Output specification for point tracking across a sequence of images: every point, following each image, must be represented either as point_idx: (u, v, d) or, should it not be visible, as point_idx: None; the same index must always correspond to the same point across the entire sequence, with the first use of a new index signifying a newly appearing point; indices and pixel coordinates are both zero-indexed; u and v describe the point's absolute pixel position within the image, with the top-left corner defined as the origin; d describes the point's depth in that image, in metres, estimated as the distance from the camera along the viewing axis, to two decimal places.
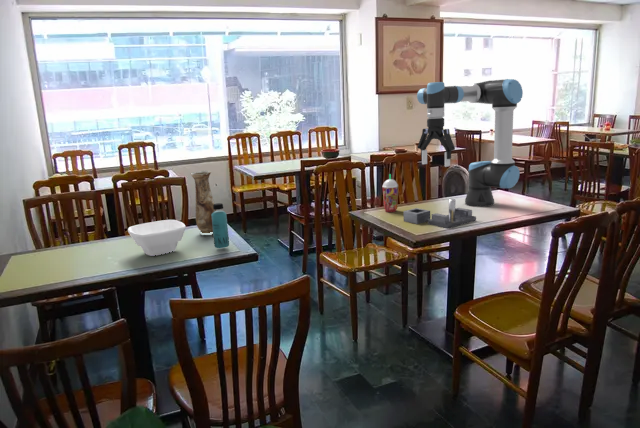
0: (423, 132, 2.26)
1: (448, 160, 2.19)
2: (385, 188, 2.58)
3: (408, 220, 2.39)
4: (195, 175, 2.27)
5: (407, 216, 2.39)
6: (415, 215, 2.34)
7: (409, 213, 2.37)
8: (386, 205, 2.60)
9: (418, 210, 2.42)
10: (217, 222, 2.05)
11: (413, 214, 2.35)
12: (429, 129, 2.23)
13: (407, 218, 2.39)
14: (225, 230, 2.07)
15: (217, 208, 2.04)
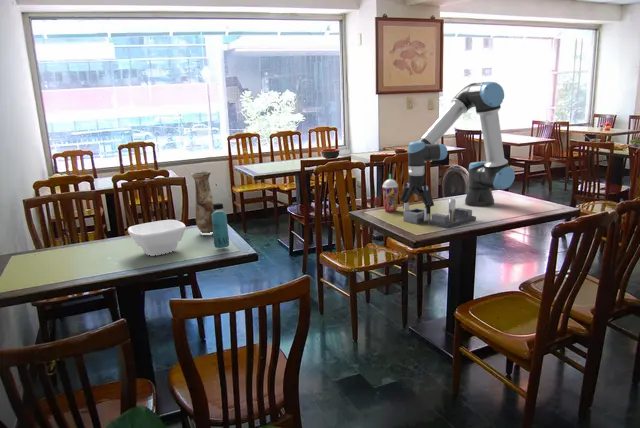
0: (405, 186, 2.41)
1: (428, 215, 2.34)
2: (385, 188, 2.58)
3: (408, 220, 2.39)
4: (195, 175, 2.27)
5: (407, 216, 2.39)
6: (415, 215, 2.34)
7: (409, 213, 2.37)
8: (386, 205, 2.60)
9: (418, 210, 2.42)
10: (217, 222, 2.05)
11: (413, 214, 2.35)
12: (410, 184, 2.38)
13: (407, 218, 2.39)
14: (225, 230, 2.07)
15: (217, 208, 2.04)
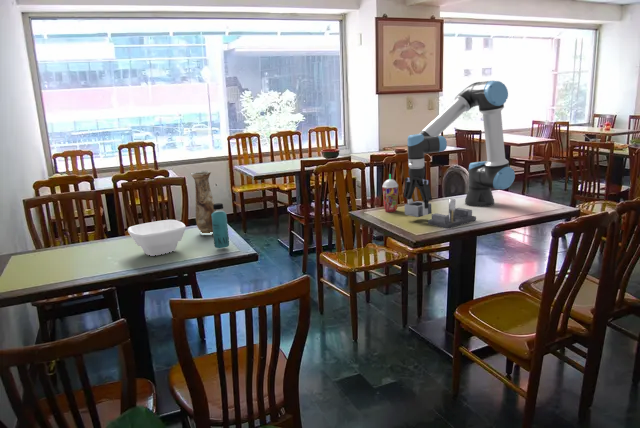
0: (406, 181, 2.40)
1: (426, 209, 2.35)
2: (385, 188, 2.58)
3: (409, 213, 2.38)
4: (195, 175, 2.27)
5: (408, 209, 2.38)
6: (416, 208, 2.33)
7: (410, 206, 2.37)
8: (386, 205, 2.60)
9: (419, 203, 2.42)
10: (217, 222, 2.05)
11: (414, 207, 2.34)
12: (410, 177, 2.37)
13: (408, 211, 2.38)
14: (225, 230, 2.07)
15: (217, 208, 2.04)
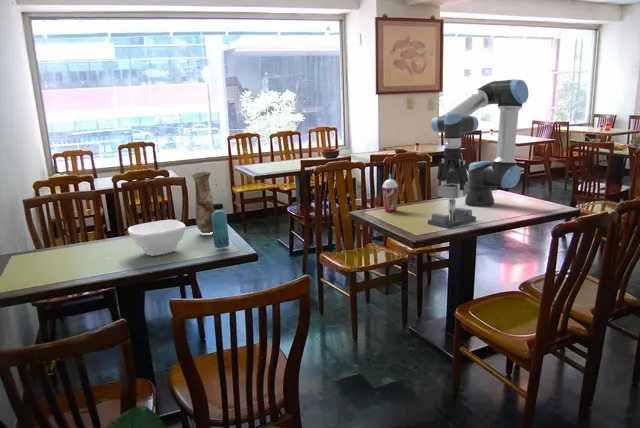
0: (440, 162, 2.32)
1: (461, 191, 2.26)
2: (385, 188, 2.58)
3: (443, 195, 2.29)
4: (195, 175, 2.27)
5: (442, 191, 2.29)
6: (451, 189, 2.25)
7: (444, 188, 2.28)
8: (386, 205, 2.60)
9: (453, 185, 2.33)
10: (217, 222, 2.05)
11: (449, 188, 2.26)
12: (445, 158, 2.29)
13: (442, 193, 2.30)
14: (225, 230, 2.07)
15: (217, 208, 2.04)
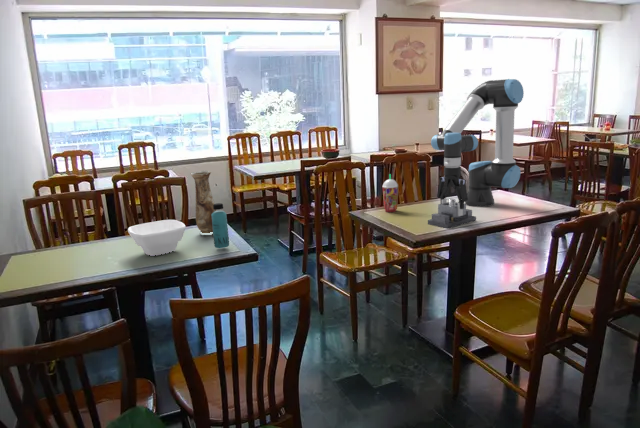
0: (440, 181, 2.34)
1: (461, 210, 2.28)
2: (385, 188, 2.58)
3: (443, 214, 2.31)
4: (195, 175, 2.27)
5: (442, 209, 2.31)
6: (451, 208, 2.27)
7: (444, 206, 2.30)
8: (386, 205, 2.60)
9: None
10: (217, 222, 2.05)
11: (449, 207, 2.28)
12: (445, 177, 2.31)
13: (442, 212, 2.32)
14: (225, 230, 2.07)
15: (217, 208, 2.04)
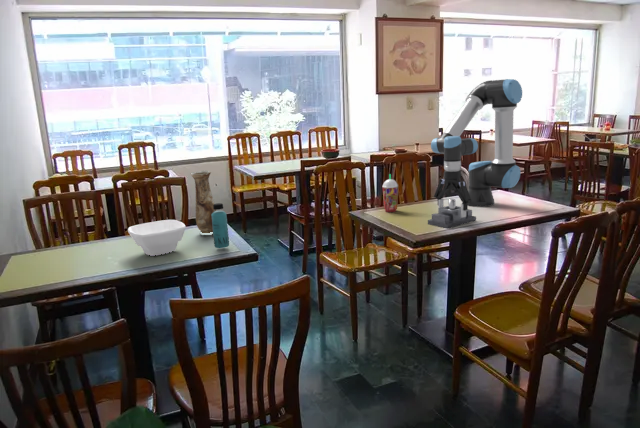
0: (440, 182, 2.34)
1: (464, 211, 2.27)
2: (385, 188, 2.58)
3: None
4: (195, 175, 2.27)
5: (442, 213, 2.32)
6: (451, 212, 2.27)
7: (444, 210, 2.30)
8: (386, 205, 2.60)
9: None
10: (217, 222, 2.05)
11: (449, 211, 2.28)
12: (446, 180, 2.31)
13: None
14: (225, 230, 2.07)
15: (217, 208, 2.04)
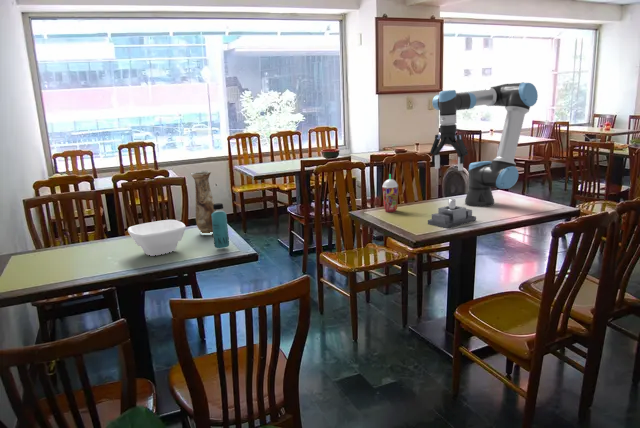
0: (436, 138, 2.36)
1: (461, 164, 2.30)
2: (385, 188, 2.58)
3: None
4: (195, 175, 2.27)
5: (442, 213, 2.32)
6: (451, 212, 2.27)
7: (444, 210, 2.30)
8: (386, 205, 2.60)
9: None
10: (217, 222, 2.05)
11: (449, 211, 2.28)
12: (442, 135, 2.33)
13: None
14: (225, 230, 2.07)
15: (217, 208, 2.04)
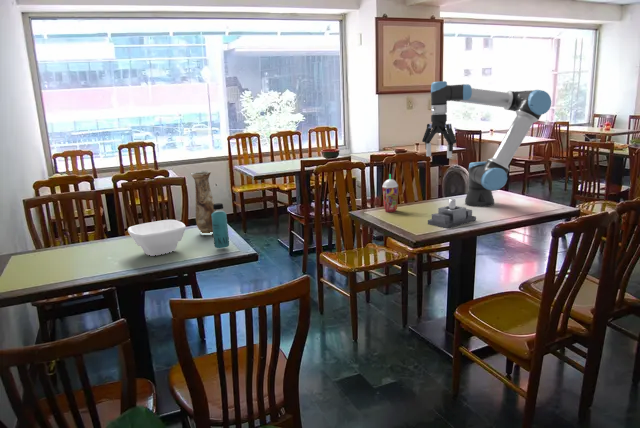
0: (427, 127, 2.49)
1: (450, 152, 2.42)
2: (385, 188, 2.58)
3: None
4: (195, 175, 2.27)
5: (442, 213, 2.32)
6: (451, 212, 2.27)
7: (444, 210, 2.30)
8: (386, 205, 2.60)
9: None
10: (217, 222, 2.05)
11: (449, 211, 2.28)
12: (433, 124, 2.46)
13: None
14: (225, 230, 2.07)
15: (217, 208, 2.04)
